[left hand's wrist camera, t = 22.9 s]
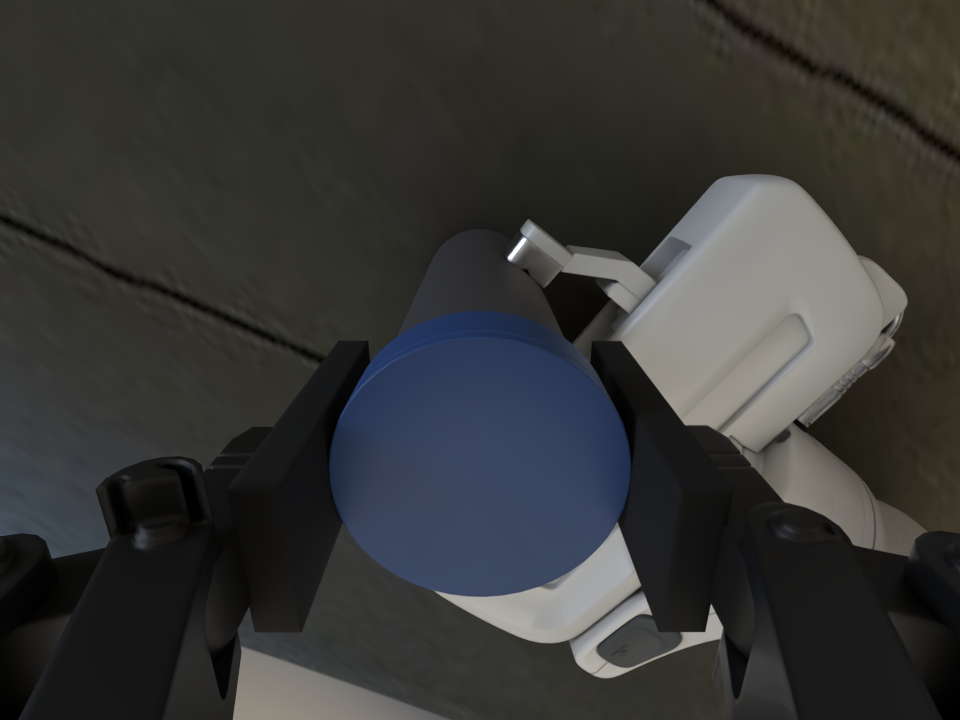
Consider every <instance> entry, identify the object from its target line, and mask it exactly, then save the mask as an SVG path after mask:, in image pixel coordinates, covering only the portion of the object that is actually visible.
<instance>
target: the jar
mask: <svg viewBox="0 0 960 720" xmlns="http://www.w3.org/2000/svg"><path fill="white" fill-rule="evenodd" d="M511 241H512V239H511V238H509V237H508V236H506V235H504V234H502V233H499V232H497V231H493V230H488V229H472V230H467V231H464V232H461V233H459V234H456V235H454V236H453V237H451V238H450V239H448V240H447V241H446V242H445V243H444V244H443V245H442V246H441V247H440V248H439V249H438V250H437V252H436V253H435V255H434V257H433V259H432V261H431V263H430V265H429V267H428V269H427V272H426V274H425V276H424V278H423V280H422V283H421V285H420V287H419V289H418V291H417V293H416V296H415V298H414V300H413V302H412V304H411V306H410V309H409V311H408V313H407V315H406V317H405V320H404V322H403V324H402V326H401V328H400V330H399V333H398V335H397V337H398V336H399V335H401V334H402V333H403V332H405V331H407V330H409V329H411V328H413V327H414V326H416V325H418V324H420V323H423V322H425V321H428V320H431V319H433V318H436V317H440V316H444V315H448V314H453V313H458V312H468V311H494V312H501V313H507V314H513V315H516V316H520V317H523V318H527V319H530V320H532V321H535V322H537V323H539V324H542V325H544V326H546V327H548V328H550V329H551V330H553V331H555V332H556V333H558V334H560V335H561V336H563V334H562V332H561V330H560V328H559V326H558V323H557V321H556V319H555V317H554V315H553V312H552V310H551V308H550V306H549V304H548V301H547V299H546V297H545V295H544V293H543V291H542V288H541V286H540V285H539V284H538V283H537V282H535V281H534V280H533V279H532V278H531V277H530V275H529V273H528V271H527V270H522V269H520V268H518V267H516V266H515V265H514V264H512V263H511V262H510V261H509V260H508V259H507V258H506V257H505V255H504V254H505V253H504V250H505V248H506V247H507V246H508V244H509V243H510V242H511ZM563 337H564V336H563Z"/></svg>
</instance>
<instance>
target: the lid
mask: <svg viewBox="0 0 960 720" xmlns="http://www.w3.org/2000/svg"><path fill="white" fill-rule="evenodd" d="M328 469H329V479H330V487H331V491H332V495H333V500H334V503H335V505H336V508H337V510H338V513H339V515H340V518H341V519H342V521H343V523H344V525H345V526H346V528H347V530H348V531H349V533H350V534H351V535H352V537H353V538H354V539H355V541H356V542H357V543H358V545H359V546H360V547H361V548H362V549H363V550H364V551H365V552H366V553H367V554H368V555H369V556H370V557H371V558H373V559H374V560H375V561H376V562H378V563H379V564H380V565H381V566H383V567H384V568H385V569H387V570H389V571H390V572H392V573H394V574H395V575H397V576H399V577H400V578H402V579H405V580H407V581H409V582H411V583H413V584H415V585H418V586H421V587H424V588H427V589H430V590H433V591H437V592H442V593H446V594H451V595H459V596H467V597H491V596H503V595H509V594H514V593H519V592H523V591H527V590H530V589H534V588H537V587H540V586H542V585H544V584H547V583H549V582H552V581H554V580H556V579H558V578H560V577H561V576H563V575H565V574H567V573H569V572H570V571H572V570H573V569H574V568H576V567H577V566H579V565H580V564H581V563H583V562H584V561H585V560H586V559H587V558H589V557H590V556H591V555H592V554H593V553H594V552H595V551H596V550H597V549H598V548H599V547H600V546H601V544H602V543H603V542H604V541H605V540H606V539H607V537H608V536H609V534H610V533H611V531H612V530H613V528H614V527H615V525H616V524H617V522H618V519H619V517H620V515H621V513H622V511H623V509H624V506H625V503H626V499H627V496H628V493H629V487H630V481H631V452H630V445H629V440H628V437H627V433H626V430H625V427H624V424H623V422H622V420H621V418H620V416H619V414H618V412H617V410H616V408H615V406H614V404H613V402H612V400H611V398H610V397H609V395H608V393H607V391H606V389H605V387H604V385H603V383H602V382H601V380H600V378H599V376H598V374H597V372H596V371H595V370H594V368H593V367H592V365H591V364H590V362H589V361H588V360H587V358H586V357H585V356H584V355H583V354H582V353H581V352H580V351H579V350H578V349H577V348H576V347H575V346H574V345H573V344H571V343H570V342H569V341H568V340H566V339H565V338H564V337H563V336H561V335H560V334H558V333H556V332H555V331H553V330H551V329H550V328H548V327H546V326H544V325H542V324H539V323H537V322H535V321H532V320H530V319H527V318H523V317H520V316H516V315H513V314H507V313H501V312H494V311H468V312H458V313H453V314H448V315H444V316H440V317H436V318H433V319H431V320H428V321H425V322H423V323H420V324H418V325H416V326H414V327H413V328H411V329H409V330H407V331H405V332H403V333H402V334H401V335H399V336H398V337H396V338H395V339H394V340H392V341H391V342H390V343H389V344H387V345H386V346H385V347H384V348H383V349H382V350H381V351H380V352H379V353H378V354H377V355H376V356H375V358H374V359H373V360H372V362H371V363H370V364H369V365H368V367H367V368H366V370H365V371H364V373H363V375H362V377H361V378H360V380H359V382H358V384H357V386H356V387H355V389H354V391H353V393H352V395H351V397H350V399H349V400H348V402H347V404H346V406H345V408H344V410H343V412H342V414H341V415H340V418H339V420H338V423H337V425H336V428H335V430H334V433H333V437H332V441H331V446H330V451H329V466H328Z"/></svg>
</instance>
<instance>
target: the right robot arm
mask: <svg viewBox="0 0 960 720" xmlns="http://www.w3.org/2000/svg"><path fill="white" fill-rule="evenodd" d="M504 253H505V254H504V255H505V257H506V258H507V259H508V260H509V261H510V262H511V263H512V264H514V265H515V266H516V267H518V268H520V269H522V270H527V271H528V273H529V275H530V277H531V278H532V279H533V280H534V281H535V282H537V283H538V284H539V285H540V286H542V287H543V288H544V289H545V288H546V287H547V285H548V284H549V283H550V282H551V281H552V280H553V279H554V277H555V276H556V275H557V274H558V273H559V272H560V271H561V272H566V273H572V274H579V275H586V276H593V277H596V283H597V284H598V285H599V287H600V288H601V289H602V290H603V291H604V292H605V293H606V294H607V295H608V296H609V297H610V298H611V300H610V301H609V302H608V303H607V304H606V305H605V306H604V308H603V309H602V310H601V311H600V312H599V313H598V314H597V316H596V317H595V318H594V319H593V320H592V321H591V322H590V323H589V325H588V326H587V327H586V328H585V329H584V330H583V331H582V333H581V334H580V335H579V336H578V337H577V338H576V339H575V340H574V342H573V343H572V344H573V345H574V346H575V347H576V348H577V349H578V350H579V351H580V352H581V353H582V354H583V355H584V356H585V357H586V358H587V360H588V361H589V362H590V359H591V347H592V341H622V343H623V344H624V345H625V346H626V348H627V349H628V350H629V352H630V353H631V354H632V356H633V357H634V358H635V360H636V361H637V362H638V364H639V365H640V366H641V368H642V369H643V370H644V372H645V373H646V374H647V376H648V377H649V378H650V379H651V381H652V382H653V383H654V385H655V386H656V387H657V389H658V390H659V391H660V393H661V394H662V395H663V397H664V398H665V399H666V401H667V402H668V403H669V405H670V406H671V407H672V409H673V410H674V411H675V412H676V414H677V415H678V416H679V418H680V419H681V420H682V422H683V423H684V424H685V425H708V426H709V427H711V428H713V429H715V430H716V431H718V432H720V433H721V434H723V435H725V436H726V437H728V438H729V439H730V440H731V441H732V443H733V444H734V445H735V446H736V447H737V448H738V449H739V451H740V452H741V455H744V456H745V457H746V459H747V460H748V461H749V462H750V463H751V467H754V468H755V469H756V470H757V471H758V472H759V473H760V475H761V476H762V477H763V478H764V479H765V480H766V481H767V483H768V484H769V485H770V486H771V487H772V488H773V489H774V491H775V492H776V493H777V494H778V495H779V496H780V497H781V499H782V500H783V501H784V502H785V503H790V504H794V505H798V506H802V507H806V508H808V509H811V510H813V511H815V512H817V513H820V514H822V515H824V516H826V517H827V518H829V519H830V520H832V521H833V522H834V523H836V524H837V525H839V526H840V527H841V528H842V529H843V531H844V532H845V533H846V534H847V536H848V537H849V538H850V540H851V542H852V544H853V545H856V546H860V547H864V548H869V549H874V550H879V551H884V552H889V553H894V554H899V555H904V556H909V555H910V552H911V550H912V547H913V544H914V541H915V539H916V538H917V537H919V536H920V535H921V534H923V533H926V532H927V531H926V530H925V529H924V528H923V527H921V526H920V525H919V524H918V523H917V522H915V521H914V520H913V519H911V518H910V517H909V516H907V515H906V514H904V513H903V512H901V511H900V510H898V509H896V508H894V507H892V506H890V505H888V504H886V503H884V502H881V501H879V500H876V498H875V497H874V495H873V493H872V492H871V491H870V489H869V488H868V486H867V485H866V484H865V482H864V481H863V480H862V479H861V478H860V477H859V476H858V475H857V474H856V473H855V472H854V471H853V470H852V469H851V468H850V467H849V466H847V465H846V464H845V463H844V462H842V461H841V460H840V459H839V458H838V457H836V456H835V455H834V454H833V453H832V452H830V451H829V450H828V449H827V448H825V447H824V446H823V445H822V444H821V443H819V442H818V441H817V440H816V439H815V438H813V437H812V436H811V435H809V434H808V433H807V430H806V429H807V428H809V427H810V425H812V424H813V423H814V422H815V421H816V420H817V419H818V418H820V417H821V416H822V415H823V414H824V413H825V412H826V411H827V410H829V409H830V408H831V407H832V406H833V405H834V404H835V403H836V402H837V401H838V400H839V399H840V398H841V397H842V395H844V394H845V392H846V391H847V389H849V388H850V387H851V386H852V383H855V382H856V381H857V380H858V379H857V378H860V377H861V376H862V375H863V374H864V373H866V372H867V371H871V370H872V369H874V368H875V367H876V366H878V365H879V364H880V363H881V362H882V361H883V360H884V359H885V358H886V357H887V356H888V355H889V354H890V353H891V351H892V350H893V348H894V347H895V345H896V343H895V341H894V340H893V339H892V336H893V335H894V334H895V332H896V331H897V330H898V328H899V326H900V324H901V322H902V319H903V316H904V311H905V308H906V306H907V302H908V301H907V297H906V294H905V292H904V291H903V289H902V288H901V286H900V285H899V284H898V283H897V282H896V281H895V280H894V279H893V278H892V277H891V276H890V275H889V274H888V273H887V272H886V271H885V270H884V269H883V268H882V267H880V266H879V265H878V264H877V263H876V262H875V261H874V260H872V259H871V258H869V257H867V256H864V255H862V254H856V253H855V251H854V250H853V248H852V247H851V245H850V244H849V243H848V241H847V240H846V239H845V237H844V236H843V234H842V233H841V232H840V230H839V229H838V228H837V227H836V225H835V224H834V223H833V222H832V220H831V219H830V218H829V217H828V216H827V214H826V213H825V212H824V211H823V210H822V208H821V207H820V206H819V205H818V204H817V203H816V202H815V201H814V199H813V198H812V197H811V196H810V195H809V194H808V193H807V192H806V191H805V190H804V189H803V188H802V187H801V186H799V185H798V184H797V183H795V182H794V181H792V180H789V179H786V178H783V177H780V176H775V175H767V174H747V175H735V176H726V177H723V178H720V179H718V180H717V181H716V182H714V183H713V184H712V185H711V186H710V187H709V189H708V190H707V191H706V192H705V193H704V194H703V195H702V197H701V198H700V199H699V200H698V201H697V202H696V203H695V205H694V206H693V207H692V208H691V209H690V210H689V211H688V212H687V214H686V215H685V216H684V217H683V218H682V219H681V220H680V222H679V223H678V224H677V225H676V226H675V227H674V228H673V229H672V231H671V232H670V233H669V234H668V235H667V236H666V237H665V239H664V240H663V241H662V242H661V243H660V244H659V245H658V246H657V248H656V249H655V250H654V251H653V252H652V253H651V254H650V255H649V257H648V258H647V259H646V260H645V261H644V262H643V263H642V265H641V266H640V267H638V266H637V265H635V264H634V263H633V262H632V261H630V260H629V259H627V258H626V257H625V256H623V255H622V254H620V253H619V252H617V251H609V250H601V249H594V248H586V247H578V246H571V245H567V246H566V247H564V246H562V245H561V244H560V243H559V242H557V241H556V240H555V239H554V238H553V237H551V236H550V235H549V234H548V233H546V232H545V231H544V230H543V229H541V228H540V227H539V226H538V225H537V224H535V223H534V222H532V221H531V220H530V219H528V220H527V221H526V222H525V224H524V225H523V226H522V228H521V229H520V230H519V231H518V233H517V234H516V235H515V237H514V238H513V239H512V241H511V242H510V243H509V244H508V246H507V247H506V248H505V250H504ZM881 330H882V331H881ZM435 592H436V593H438V594H439V595H441V596H442V597H444V598H445V599H447V600H449V601H450V602H452V603H454V604H455V605H457V606H459V607H460V608H462V609H464V610H466V611H468V612H469V613H471V614H473V615H475V616H477V617H479V618H481V619H483V620H484V621H486V622H488V623H490V624H492V625H494V626H496V627H498V628H500V629H503V630H505V631H507V632H509V633H511V634H513V635H516V636H518V637H521V638H524V639H527V640H530V641H534V642H540V643H557V642H562V641H566V640H569V642H570V645H571V648H572V652H573V655H574V658H575V660H576V662H577V664H578V665H579V666H580V667H581V668H583V669H584V670H585V671H587V672H589V673H590V674H592V675H594V676H597V677H600V678H612V677H615V676H619V675H621V674H623V673H626V672H628V671H630V670H632V669H635V668H637V667H639V666H641V665H643V664H646V663H648V662H650V661H653V660H655V659H657V658H660V657H662V656H665V655H667V654H670V653H672V652H675V651H678V650H681V649H684V648H686V647H690V646H693V645H697V644H700V643H704V642H708V641H712V640H716V639H721V635H722V630H723V626H722V624H721V622H720V620H719V618H718V616H717V614H716V613H715V611H714V609H713V607H712V605H711V607H710V612H709V616H708V621H707V626H706V631H705V632H658V629H657V627H656V624H655V621H654V619H653V616H652V613H651V611H650V608H649V605H648V603H647V600H646V597H645V595H644V592H643V589H642V587H641V584H640V581H639V579H638V576H637V573H636V571H635V568H634V565H633V563H632V560H631V557H630V554H629V552H628V549H627V546H626V544H625V541H624V538H623V536H622V533H621V530H620V528H619V525H618V522H617V524H616V525H615V527H614V528H613V530H612V531H611V533H610V534H609V536H608V537H607V539H606V540H605V541H604V542H603V543H602V544H601V546H600V547H599V548H598V549H597V550H596V551H595V552H594V553H593V554H592V555H591V556H590V557H589V558H587V559H586V560H585V561H584V562H583V563H581V564H580V565H579V566H577V567H576V568H574V569H573V570H572V571H570V572H569V573H567V574H565V575H563V576H561V577H560V578H558V579H556V580H554V581H552V582H549V583H547V584H544V585H542V586H540V587H537V588H534V589H530V590H527V591H523V592H519V593H514V594H509V595H503V596H491V597H467V596H459V595H451V594H446V593H442V592H437V591H435Z"/></svg>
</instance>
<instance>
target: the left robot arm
mask: <svg viewBox="0 0 960 720" xmlns="http://www.w3.org/2000/svg"><path fill="white" fill-rule="evenodd" d="M369 364H370V358H369V345H368V341H338V343H337V344H336V345H335V347H334V348H333V349H332V351H331V352H330V353H329V354H328V356H327V357H326V358H325V360H324V361H323V362H322V364H321V365H320V366H319V368H318V369H317V370H316V372H315V373H314V374H313V376H312V377H311V378H310V380H309V381H308V382H307V384H306V385H305V386H304V388H303V389H302V390H301V391H300V393H299V394H298V395H297V397H296V398H295V399H294V401H293V402H292V403H291V405H290V406H289V407H288V409H287V410H286V411H285V413H284V414H283V415H282V417H281V418H280V419H279V421H278V422H277V423H276V424H275V426H274V427H252V428H251V429H249V430H247V431H246V432H244V433H242V434H240V435H239V436H237V437H235V438H234V439H232V440H231V442H230V443H229V444H228V445H227V446H226V447H225V448H224V450H223V451H222V452H221V453H220V457H217V458H216V459H215V460H214V461H213V462H212V463H211V465H210V466H209V469H206V470H205V471H204V473H203V469H202V465H201V464H200V463H198V462H197V461H195V460H194V459H191V458H185V457H180V456H177V457H161V458H156V459H151V460H147V461H142V462H139V463H137V464H134V465H132V466H129V467H126V468H124V469H121V470H120V471H118V472H116V473H115V474H113V475H111V476H110V477H108V478H106V479H105V480H104V481H103V482H102V483H101V484H100V485H99V486H98V487H97V488H96V493H97V496H98V499H99V503H100V506H101V509H102V512H103V516H104V519H105V522H106V525H107V529H108V532H109V535H110V538H111V539H110V541H109V543H108V545H107V547H106V548H102V549H99V550H94V551H89V552H84V553H79V554H74V555H69V556H64V557H59V558H54V559H52V558H51V555H50V552H49V549H48V547H47V544H46V541H44V540H43V539H42V538H40V537H39V536H38V535H31V534H22V533H21V534H14V535H7V536H0V720H233V713H234V705H235V698H236V690H237V682H238V674H239V667H240V659H241V646H240V640H239V635H238V630H237V629H238V627H239V625H240V623H241V621H242V619H243V617H244V616H245V614H246V612H247V610H248V608H249V606H250V611H251V616H252V621H253V626H254V631H255V632H302V630H303V627H304V624H305V622H306V619H307V616H308V614H309V611H310V608H311V606H312V603H313V600H314V598H315V595H316V592H317V589H318V587H319V584H320V581H321V579H322V576H323V573H324V571H325V568H326V565H327V563H328V560H329V557H330V555H331V552H332V549H333V547H334V544H335V541H336V539H337V536H338V533H339V531H340V528H341V525H342V523H343V521H342V519H341V518H340V515H339V513H338V510H337V508H336V505H335V503H334V500H333V495H332V491H331V487H330V479H329V469H328V466H329V451H330V446H331V441H332V437H333V433H334V430H335V428H336V425H337V423H338V420H339V418H340V415H341V414H342V412H343V410H344V408H345V406H346V404H347V402H348V400H349V399H350V397H351V395H352V393H353V391H354V389H355V387H356V386H357V384H358V382H359V380H360V378H361V377H362V375H363V373H364V371H365V370H366V368H367V367H368V365H369ZM590 364H591V365H592V367H593V368H594V370H595V371H596V372H597V374H598V376H599V378H600V380H601V382H602V383H603V385H604V387H605V389H606V391H607V393H608V395H609V397H610V398H611V400H612V402H613V404H614V406H615V408H616V410H617V412H618V414H619V416H620V418H621V420H622V422H623V424H624V427H625V430H626V433H627V437H628V440H629V445H630V452H631V481H630V487H629V493H628V496H627V499H626V503H625V506H624V509H623V511H622V513H621V515H620V517H619V519H618V525H619V528H620V530H621V533H622V536H623V538H624V541H625V544H626V546H627V549H628V552H629V554H630V557H631V560H632V563H633V565H634V568H635V571H636V573H637V576H638V579H639V581H640V584H641V587H642V589H643V592H644V595H645V597H646V600H647V603H648V605H649V608H650V611H651V613H652V616H653V619H654V621H655V624H656V627H657V629H658V632H705V631H706V626H707V621H708V616H709V612H710V607H711V605H712V607H713V609H714V611H715V613H716V614H717V616H718V618H719V620H720V622H721V624H722V626H723V630H722V635H721V640H720V644H719V649H718V653H717V658H716V663H715V667H714V672H713V677H712V684H711V688H714V689H718V690H719V686H720V681H721V677H722V681H723V689H724V696H725V704H726V711H727V719H728V720H960V534H958V533H950V532H943V531H935V532H926V533H923V534H921V535H920V536H919V537H917V538H916V539H915V541H914V544H913V547H912V550H911V552H910V555H909V556H904V555H899V554H894V553H889V552H884V551H879V550H874V549H869V548H864V547H860V546H856V545H853V544H852V542H851V540H850V538H849V537H848V536H847V534H846V533H845V532H844V531H843V529H842V528H841V527H840V526H839V525H837V524H836V523H834V522H833V521H832V520H830V519H829V518H827V517H826V516H824V515H822V514H820V513H817V512H815V511H813V510H811V509H808V508H806V507H802V506H798V505H794V504H790V503H785V502H784V501H783V500H782V499H781V497H780V496H779V495H778V494H777V493H776V492H775V491H774V489H773V488H772V487H771V486H770V485H769V484H768V483H767V481H766V480H765V479H764V478H763V477H762V476H761V475H760V473H759V472H758V471H757V470H756V469H755V468H754V467H751V463H750V462H749V461H748V460H747V459H746V457H745V456H744V455H741V452H740V451H739V449H738V448H737V447H736V446H735V445H734V444H733V443H732V441H731V440H730V439H729V438H728V437H726V436H725V435H723V434H721V433H720V432H718V431H716V430H715V429H713V428H711V427H709V426H708V425H685V424H684V423H683V422H682V420H681V419H680V418H679V416H678V415H677V414H676V412H675V411H674V410H673V409H672V407H671V406H670V405H669V403H668V402H667V401H666V399H665V398H664V397H663V395H662V394H661V393H660V391H659V390H658V389H657V387H656V386H655V385H654V383H653V382H652V381H651V379H650V378H649V377H648V376H647V374H646V373H645V372H644V370H643V369H642V368H641V366H640V365H639V364H638V362H637V361H636V360H635V358H634V357H633V356H632V354H631V353H630V352H629V350H628V349H627V348H626V346H625V345H624V344H623V343H622V341H592V347H591V359H590Z"/></svg>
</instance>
